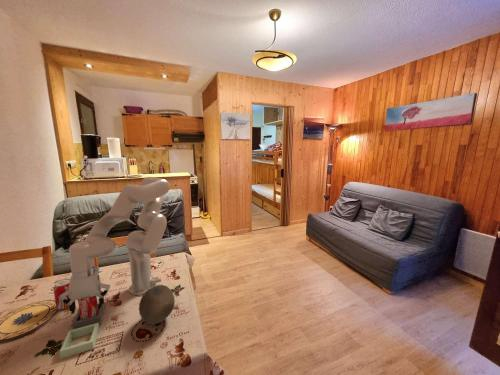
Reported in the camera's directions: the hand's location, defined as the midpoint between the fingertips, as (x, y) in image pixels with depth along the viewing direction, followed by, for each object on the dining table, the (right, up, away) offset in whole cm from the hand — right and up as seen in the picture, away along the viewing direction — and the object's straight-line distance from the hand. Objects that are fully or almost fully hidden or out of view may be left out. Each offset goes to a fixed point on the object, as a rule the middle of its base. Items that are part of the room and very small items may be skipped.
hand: (87, 308), depth 91 cm
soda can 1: (-17, -4, +9) cm, 19 cm away
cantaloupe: (+30, -6, +1) cm, 31 cm away
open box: (+3, -6, -5) cm, 8 cm away
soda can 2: (0, -5, +1) cm, 6 cm away
